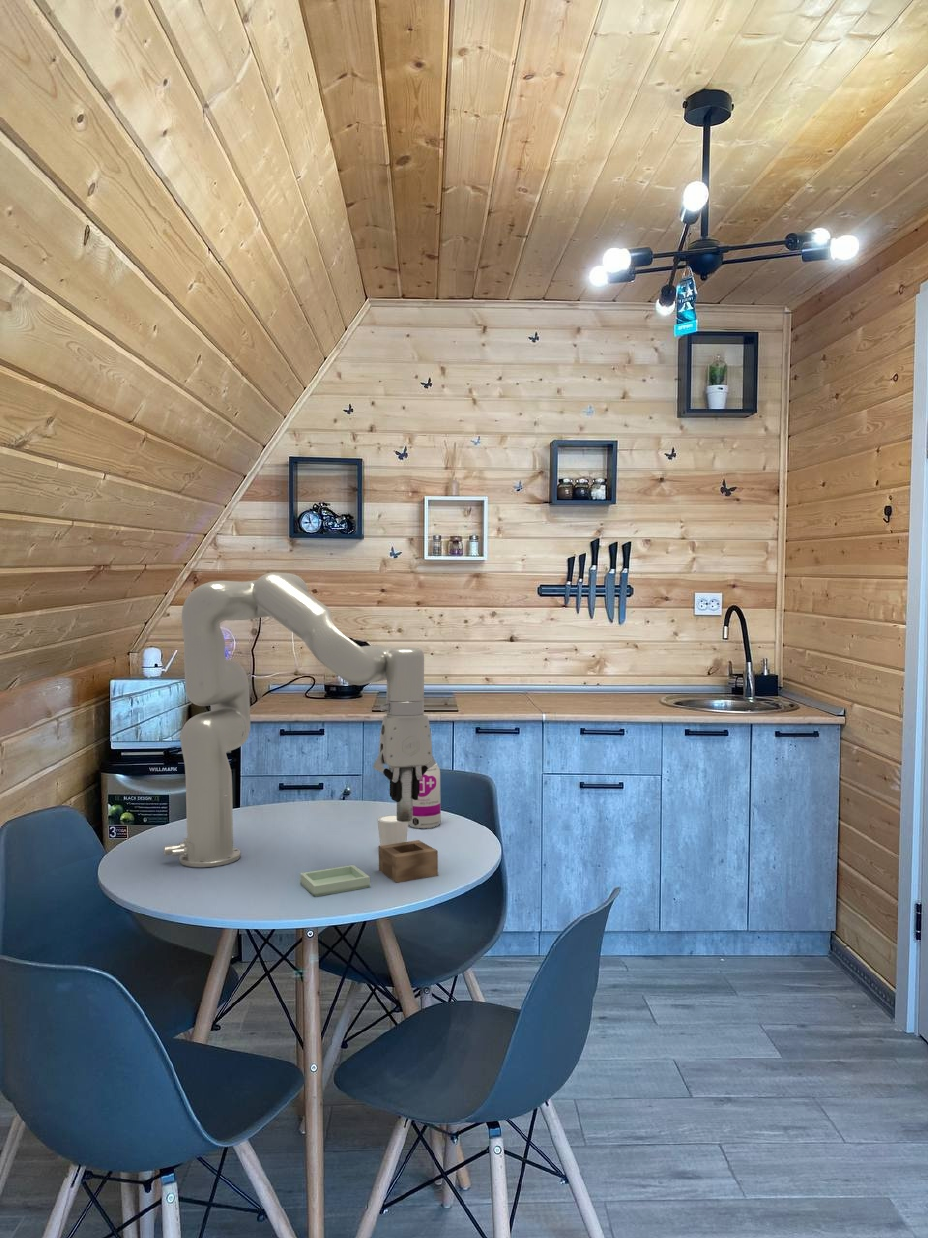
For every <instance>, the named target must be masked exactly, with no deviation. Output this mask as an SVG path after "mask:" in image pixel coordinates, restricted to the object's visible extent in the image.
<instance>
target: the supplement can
mask: <svg viewBox="0 0 928 1238" xmlns="http://www.w3.org/2000/svg"><path fill="white" fill-rule="evenodd" d="M441 806H442V805H441V769H440V767H439V765H438V763H437V762H436V763H435V765H434V766H432V767H431V768H429V769H428V770H427V771H426V772H425V773H424V775H423V776H422V779H421V780H420V793H419V795H418V800H414V799H413V817H412V821H408V826H410V827H411V826H412V827H411V828H413V827H415V828H414V829H419V828H427V829H432V827H433V828H436V827H438V826H439V824H440V823H441V822H442V817H441V816H442V815H441V812H442V811H441V809H442V808H441ZM435 826H436V827H435Z"/></svg>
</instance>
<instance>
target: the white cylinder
mask: <svg viewBox="0 0 928 1238" xmlns="http://www.w3.org/2000/svg"><path fill="white" fill-rule="evenodd" d="M376 819H377V827H378V838H379V846H383V845H389V844H396V843H403V842H408V841H407V840H408V831H409V830H408V829H409V828H408V826H409V824H408V822H400V821H397V814H393V815H384V816H383V815H382V816H381V817H378V818H376Z"/></svg>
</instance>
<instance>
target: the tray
mask: <svg viewBox="0 0 928 1238" xmlns="http://www.w3.org/2000/svg"><path fill="white" fill-rule="evenodd" d="M299 876H300V878H299V881H300V882H299V883H300V885H301V886H302V887H303V888H305V889H306V890H307V891H308V892H309V893H310V894H311V895H312V896H313V897H314V898H316V897H323V896H327V895H328V896H329V895H333V894H334V893H335V894H340V893H345V892H351V891H357V890H362V888H363V889H368V888H367V887H369V888H371V877H370V875H368V874H367V873H365V872H364V871H363V870H361V869H359V867H357V866H356V865H354V864H351V865H346V866H345V865H343V866H338V867H331V868H326V869H325V868H324V869H319V870H313V871H308V872H300V873H299ZM335 894H334V895H335Z"/></svg>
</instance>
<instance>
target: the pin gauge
mask: <svg viewBox="0 0 928 1238" xmlns="http://www.w3.org/2000/svg"><path fill="white" fill-rule="evenodd" d="M398 782H400V783H401V800H400V802H396V815H397V821H400V822H408V821H412V817H413V766H410V767H399V776H398Z"/></svg>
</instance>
